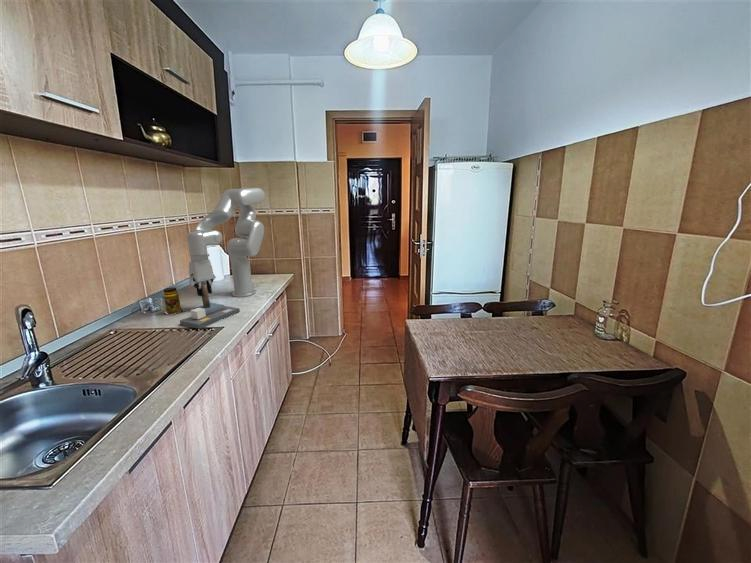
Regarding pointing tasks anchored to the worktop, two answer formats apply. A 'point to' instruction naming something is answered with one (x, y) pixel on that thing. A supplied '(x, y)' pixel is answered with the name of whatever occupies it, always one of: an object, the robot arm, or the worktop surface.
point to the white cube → (198, 313)
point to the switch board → (210, 317)
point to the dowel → (205, 295)
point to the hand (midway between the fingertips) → (204, 294)
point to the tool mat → (212, 305)
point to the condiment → (172, 300)
